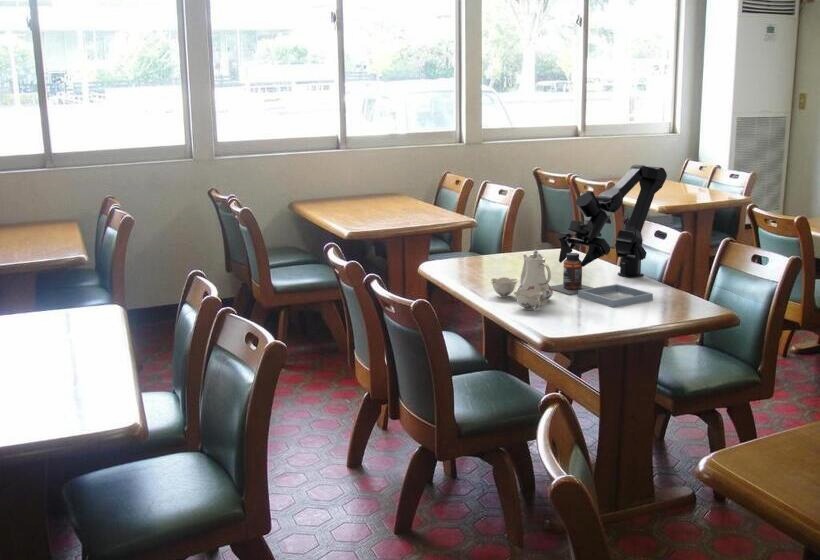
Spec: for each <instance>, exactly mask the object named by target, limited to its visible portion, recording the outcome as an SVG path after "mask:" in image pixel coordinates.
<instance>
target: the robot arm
mask: <svg viewBox="0 0 820 560" xmlns="http://www.w3.org/2000/svg"><path fill="white" fill-rule="evenodd" d="M667 176H668V175H667V172H666V169H665V168H664V167H661V166H660V167H657V166H646V165H645V164H644V165H643V164H634V165H631V167H630V169H629V170H628V171H627V172H626V173H625V174H624V175H623V176H622V177H621V178H620V179H619V180H618V182H616V184H615V185H614V186H612V187H611V188H609V189H607V190H604V191H603V192H600V194H598V195H597V196H596V195H595V193H594V192H593V190H586V192H585V193H583V194H580V195H579V196H578V197H577V198H576V200H575V204H576V206H577V208H578V209H579V210H580V213H582V215H583V216H584V217H586V218H587V219H586V220H584V221H581V220H573V219H571V220H570V222H569V224H568V226H567V227H568V228H567V230H569V231H572V232H573V235H574V236H575V237H576V238H575V237H573V236H572V234H571V233H569V232H561V231H560V232H559V233H558V234H557V236H556V237H555V238H556V240H557V241H558V243H559V244H560V252H559V257H558V263H560V264H562V263H564V261H565V260H566V259H567V253H573V250H574V248H575V247H576V246H582V247H587V248H588V250H587V252H586V253H585V255H584V258H583V259H582V260H581V261H582V263H581V266H582V268H583V267H585V266H587V265H588V264H590V263H592V262H594V261H595V260H598V259H600V258H601V257H604V256H608V255H609V254H610V252H611V246H610V244H609V243H608V242H607V241H606V239H605V238H603V237H602V233H601V232H602V230H603V229H604V227H605V225H606V224H608V225H612V220H611V216H610V215H608V213H613V214H614V213H617V212H618V211H619V210H620V208H621V206H622V205H623V204H624V198H625V197H626V196H627V194H629V192H631V190H633V188H634V187H635V186H636V185H637V184H638V183H639V188H640V190H639V194H638V195H637V199H636V201H635V204H634V207H633V210H632V212H631V215H630V218H629V221H628V223H627V226H626V228H624V230H623V229H620V230H619V231H618V233H617V236H616V238H615V239H614V241H615V244H614V248H615V251H616V252H615V253H616V257H617V258H621V259H620V267H619V272H617V275H618V276H623V277H626V278H637V277H643V276H644V275H645V273H641V270H642V269H641V267H642V261H644V259H646V257H647V251H646V249H645V248H644V247H643V242H644V241H643V235H642V231H643V227H644V225H645V222H646V219H647V216H648V213H649V211H650V208H651V205H652V203H653V199H654V197H655V194H656V193H658V191H659V190H661V189H662V187H663V186H664V184H665V183H666V180H667Z"/></svg>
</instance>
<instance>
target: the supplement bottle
mask: <svg viewBox="0 0 820 560" xmlns="http://www.w3.org/2000/svg"><path fill="white" fill-rule="evenodd" d="M582 261H583V260H580V254H579V253H578V252H571V253H567V257H566V258H565V260H564V261H563V271H562V272H563V273H562V274H563V275H562V276H563V279H562V280H563V281H562V282H563V283H562V284H563V287H564V288H566V289H580V288H581V287H582V285H583V267H582V266H581V263H582Z"/></svg>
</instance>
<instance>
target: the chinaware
mask: <svg viewBox="0 0 820 560" xmlns="http://www.w3.org/2000/svg"><path fill="white" fill-rule="evenodd" d="M522 257H523V266H522V270H521V274H520V285H519V286H518V288H517V290H516V291H515V289H516V285H517V283H518V279H517V278H509V277H504V276H503V277H499V278H491V279H490V283H491V285H492V288H493V290H494V292H495V293H496V294H497V295H498V297H500V298H509V297H510V295H511V294H512V293H513V295H515V299H516V300H517V303H518V304H519V306H521V307H522V310H523V311H528V310H529V311H532V310H533V311H534V310H535V308H536V309H539V308H540V307H541V304H547V303H549V299H550V298H551V297H552V296H553V293H554V290H552V289H551V287H550V286H551V285H550V284H549V283H550V281H551V278H552V274H551V269H550V266H549V265H548V264H547V263H546V260H547V257H544V256H542V255H541V253H539V251H538V250H537V249H534V251H533V253H531V254H530V255H529V256H528V255H527V254H523V255H522ZM545 268H546V270H547V277H546V273H545V271H546V270H545ZM537 305H538V306H537Z"/></svg>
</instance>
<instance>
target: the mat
mask: <svg viewBox="0 0 820 560" xmlns="http://www.w3.org/2000/svg"><path fill="white" fill-rule="evenodd" d="M549 286H550V287H551V289H552V291H553V292H558V293H561V294H563V295H567V296H572V295H573V294H574V295H578V290H584V289H590V288H594V287H591V286H589V285H585V284H582V287H581V288H580V289H566V288H564V287H563V283H561V284H555V285H549Z"/></svg>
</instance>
